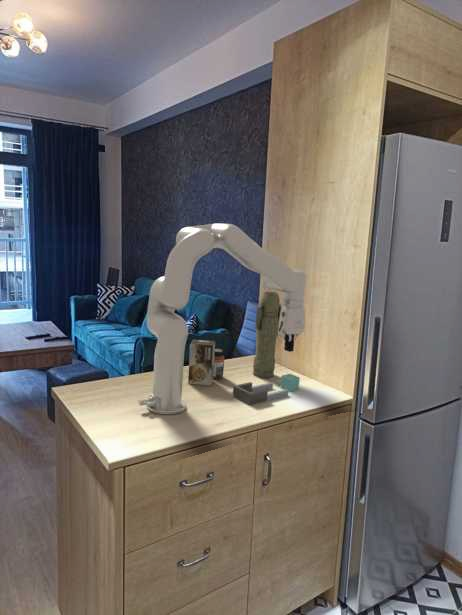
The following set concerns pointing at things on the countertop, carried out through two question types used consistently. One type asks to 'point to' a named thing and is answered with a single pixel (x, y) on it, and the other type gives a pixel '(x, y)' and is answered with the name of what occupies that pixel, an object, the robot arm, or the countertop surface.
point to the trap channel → (256, 393)
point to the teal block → (290, 382)
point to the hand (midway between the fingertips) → (288, 350)
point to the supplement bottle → (218, 364)
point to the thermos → (266, 334)
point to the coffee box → (201, 362)
